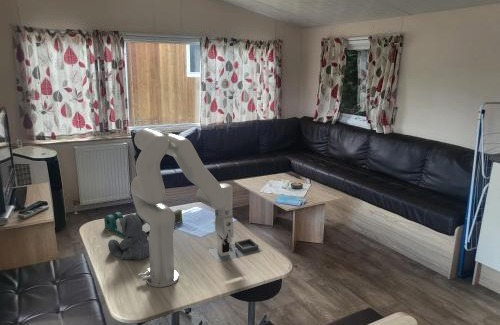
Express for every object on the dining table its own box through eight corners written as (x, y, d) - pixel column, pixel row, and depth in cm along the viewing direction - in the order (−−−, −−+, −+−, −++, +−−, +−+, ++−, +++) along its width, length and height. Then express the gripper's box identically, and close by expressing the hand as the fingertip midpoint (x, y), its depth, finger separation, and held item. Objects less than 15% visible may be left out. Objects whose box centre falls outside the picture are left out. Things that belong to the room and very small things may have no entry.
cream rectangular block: (221, 256, 173) (221, 239, 171) (217, 252, 177) (217, 236, 174) (229, 254, 175) (229, 238, 173) (225, 250, 178) (225, 234, 176)
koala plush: (140, 240, 188) (138, 202, 183) (161, 253, 176) (160, 213, 171) (106, 252, 176) (103, 212, 171) (127, 267, 164) (124, 225, 159)
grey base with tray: (218, 264, 169) (219, 256, 168) (207, 252, 179) (207, 245, 178) (262, 252, 179) (262, 246, 178) (249, 242, 189) (249, 235, 188)
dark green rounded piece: (104, 228, 200) (103, 214, 198) (116, 224, 205) (115, 210, 203) (126, 238, 190) (125, 223, 188) (137, 234, 195) (137, 219, 193)
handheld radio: (183, 221, 211) (146, 237, 191) (179, 220, 213) (141, 236, 193) (182, 210, 209) (145, 225, 190) (178, 208, 211) (140, 223, 192)
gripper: (240, 217, 165) (239, 255, 170) (223, 203, 179) (222, 240, 184) (224, 220, 162) (224, 259, 167) (208, 206, 176) (208, 243, 181)
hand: (223, 249), depth 175 cm, fingers closed on cream rectangular block, 4 cm apart
